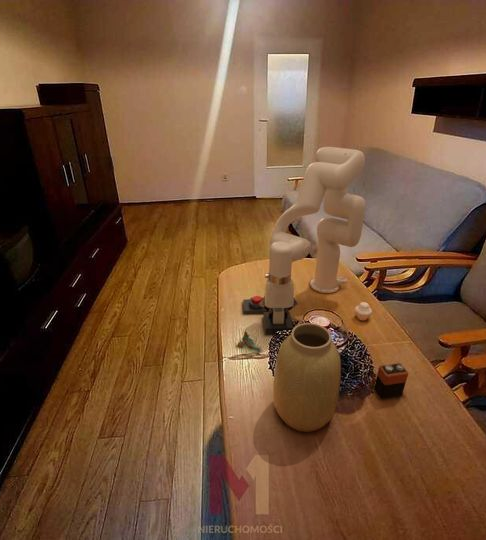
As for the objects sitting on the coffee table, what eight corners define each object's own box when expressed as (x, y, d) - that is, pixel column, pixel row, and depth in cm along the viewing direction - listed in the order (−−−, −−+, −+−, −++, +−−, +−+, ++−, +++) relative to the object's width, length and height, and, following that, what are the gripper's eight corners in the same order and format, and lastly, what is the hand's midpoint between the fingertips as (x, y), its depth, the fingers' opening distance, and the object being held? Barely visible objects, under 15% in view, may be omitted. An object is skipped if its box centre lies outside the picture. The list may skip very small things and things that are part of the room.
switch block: (269, 302, 144) (270, 295, 142) (271, 313, 137) (271, 306, 135) (243, 302, 144) (243, 295, 142) (243, 314, 137) (243, 306, 135)
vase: (303, 451, 86) (312, 371, 73) (259, 405, 99) (261, 330, 86) (348, 416, 95) (363, 339, 82) (303, 378, 107) (310, 306, 94)
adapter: (289, 317, 135) (289, 311, 133) (292, 334, 126) (293, 327, 124) (263, 318, 135) (263, 312, 133) (265, 335, 126) (265, 328, 124)
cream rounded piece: (355, 322, 131) (358, 307, 128) (351, 313, 137) (354, 298, 133) (372, 323, 131) (375, 307, 128) (367, 313, 136) (370, 298, 133)
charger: (282, 317, 131) (283, 304, 128) (283, 323, 127) (284, 310, 124) (271, 317, 131) (272, 304, 128) (272, 323, 127) (273, 310, 124)
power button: (261, 299, 141) (261, 295, 140) (261, 304, 138) (262, 300, 137) (252, 299, 141) (252, 295, 140) (252, 304, 138) (252, 300, 137)
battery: (373, 387, 104) (379, 362, 99) (394, 384, 105) (401, 359, 100) (380, 399, 100) (387, 374, 95) (402, 396, 101) (410, 370, 96)
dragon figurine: (267, 339, 122) (248, 327, 123) (263, 346, 115) (243, 333, 116) (258, 354, 123) (239, 341, 125) (254, 361, 116) (234, 348, 118)
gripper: (256, 283, 117) (255, 326, 125) (306, 282, 117) (302, 325, 125) (255, 272, 123) (254, 314, 132) (302, 271, 123) (298, 313, 132)
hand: (277, 319), depth 129 cm, fingers closed on charger, 4 cm apart
